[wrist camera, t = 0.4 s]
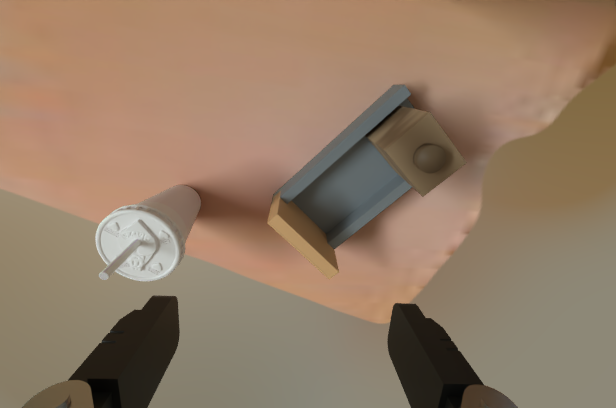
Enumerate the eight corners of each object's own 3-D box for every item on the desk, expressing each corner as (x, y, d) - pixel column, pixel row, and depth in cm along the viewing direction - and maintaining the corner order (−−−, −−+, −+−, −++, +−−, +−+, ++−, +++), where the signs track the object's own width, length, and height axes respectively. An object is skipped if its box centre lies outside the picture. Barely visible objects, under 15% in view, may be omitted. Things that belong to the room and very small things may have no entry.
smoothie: (217, 179, 31) (158, 248, 18) (210, 233, 33) (154, 329, 20) (153, 166, 30) (43, 229, 17) (151, 222, 32) (53, 314, 19)
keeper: (398, 105, 27) (436, 113, 20) (428, 145, 29) (474, 166, 21) (364, 135, 28) (388, 153, 21) (395, 172, 30) (428, 201, 22)
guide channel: (393, 84, 28) (423, 84, 21) (440, 146, 30) (479, 164, 24) (273, 194, 32) (267, 223, 25) (323, 242, 34) (329, 279, 27)
